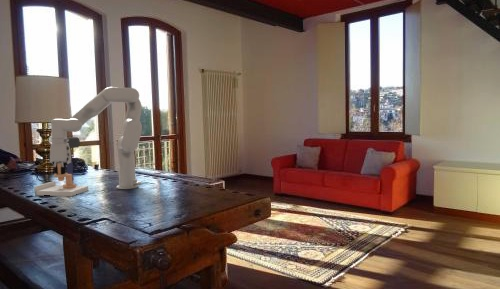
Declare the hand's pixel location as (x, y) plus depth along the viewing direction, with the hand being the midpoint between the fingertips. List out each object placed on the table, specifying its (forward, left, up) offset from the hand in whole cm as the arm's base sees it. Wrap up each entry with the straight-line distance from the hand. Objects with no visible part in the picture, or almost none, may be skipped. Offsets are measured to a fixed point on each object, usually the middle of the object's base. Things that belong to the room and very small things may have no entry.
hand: (60, 173), depth 205 cm
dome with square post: (0, 0, -4) cm, 4 cm away
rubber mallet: (+18, -34, -12) cm, 40 cm away
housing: (+2, -3, -12) cm, 12 cm away
